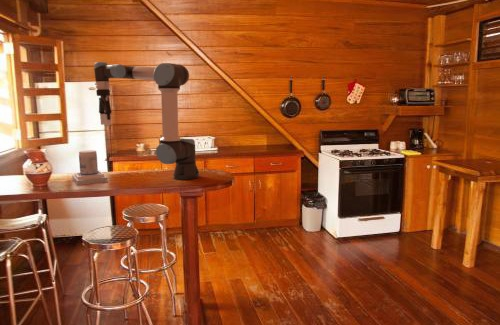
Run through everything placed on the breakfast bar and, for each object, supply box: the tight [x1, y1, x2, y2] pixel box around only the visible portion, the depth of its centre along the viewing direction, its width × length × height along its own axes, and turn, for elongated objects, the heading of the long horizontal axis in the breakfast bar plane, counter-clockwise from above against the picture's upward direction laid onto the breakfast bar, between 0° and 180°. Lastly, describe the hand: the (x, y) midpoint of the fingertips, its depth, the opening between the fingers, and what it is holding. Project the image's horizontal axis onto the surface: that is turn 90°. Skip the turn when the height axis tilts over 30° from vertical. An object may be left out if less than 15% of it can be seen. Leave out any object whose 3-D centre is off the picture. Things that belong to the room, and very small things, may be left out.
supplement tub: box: [78, 149, 99, 176], centre depth 225 cm, size 10×10×15 cm
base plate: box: [71, 170, 108, 186], centre depth 227 cm, size 20×16×4 cm
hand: (106, 125), depth 235 cm, fingers open, 13 cm apart
